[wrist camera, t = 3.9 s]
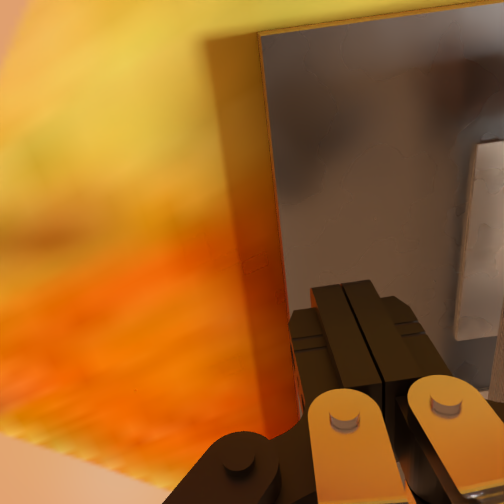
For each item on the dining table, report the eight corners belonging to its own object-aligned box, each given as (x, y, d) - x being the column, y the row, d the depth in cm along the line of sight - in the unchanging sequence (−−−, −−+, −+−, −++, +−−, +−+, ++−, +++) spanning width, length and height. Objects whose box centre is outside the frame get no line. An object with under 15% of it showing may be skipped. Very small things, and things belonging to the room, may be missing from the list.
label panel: (257, 32, 15) (261, 37, 13) (836, -49, 15) (910, -54, 13) (312, 549, 28) (317, 582, 27) (616, 508, 28) (639, 539, 27)
